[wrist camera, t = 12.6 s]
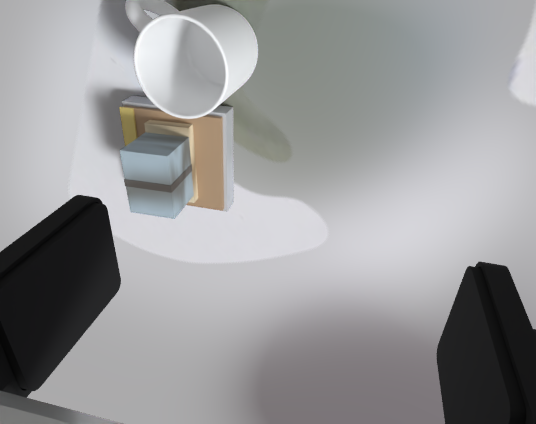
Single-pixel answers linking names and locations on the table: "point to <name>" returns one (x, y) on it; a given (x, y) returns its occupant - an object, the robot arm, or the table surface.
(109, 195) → the table surface
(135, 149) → the banded blue box
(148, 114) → the dock
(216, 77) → the mug
